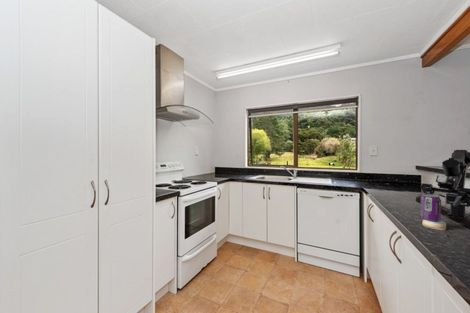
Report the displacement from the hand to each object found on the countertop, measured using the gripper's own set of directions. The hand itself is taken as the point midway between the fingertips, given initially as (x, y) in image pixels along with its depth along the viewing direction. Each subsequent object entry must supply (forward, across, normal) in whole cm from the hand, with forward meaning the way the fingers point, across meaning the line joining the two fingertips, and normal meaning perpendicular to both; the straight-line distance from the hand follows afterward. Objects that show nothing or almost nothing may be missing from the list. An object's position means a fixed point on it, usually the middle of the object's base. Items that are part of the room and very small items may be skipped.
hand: (440, 204), depth 98 cm
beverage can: (+10, -2, +1) cm, 10 cm away
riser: (+12, 0, +3) cm, 12 cm away
